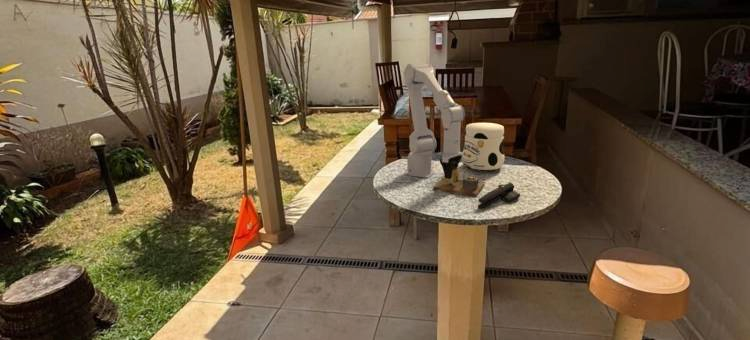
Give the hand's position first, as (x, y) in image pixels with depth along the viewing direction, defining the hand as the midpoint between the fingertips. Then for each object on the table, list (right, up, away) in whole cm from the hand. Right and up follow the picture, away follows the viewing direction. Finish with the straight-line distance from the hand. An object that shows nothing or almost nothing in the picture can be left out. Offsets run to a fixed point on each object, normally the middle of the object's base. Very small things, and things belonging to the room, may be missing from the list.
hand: (450, 175), depth 142 cm
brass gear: (0, -2, 0) cm, 2 cm away
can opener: (+13, -9, -12) cm, 20 cm away
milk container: (+18, +3, +22) cm, 29 cm away
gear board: (+3, -5, +1) cm, 6 cm away
